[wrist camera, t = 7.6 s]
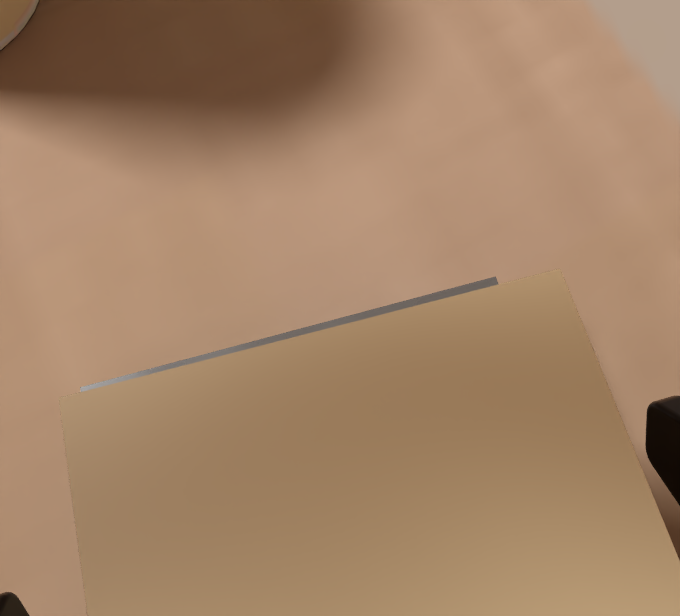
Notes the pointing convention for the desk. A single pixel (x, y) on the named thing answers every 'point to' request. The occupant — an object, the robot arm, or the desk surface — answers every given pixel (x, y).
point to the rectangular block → (374, 474)
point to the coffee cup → (14, 18)
